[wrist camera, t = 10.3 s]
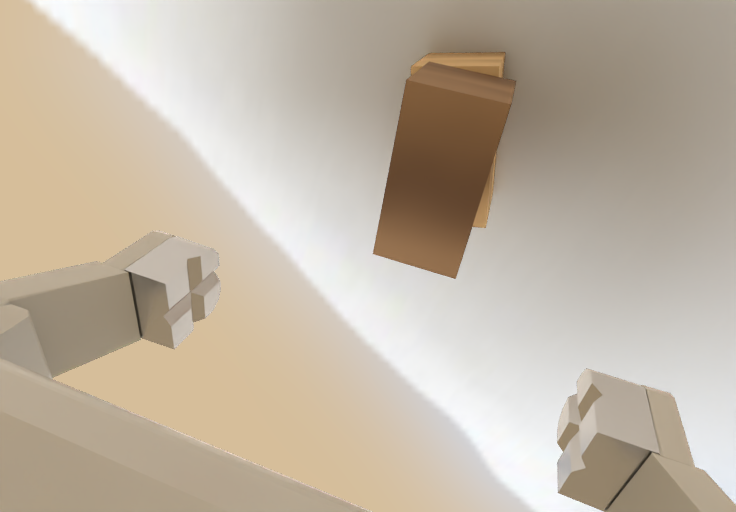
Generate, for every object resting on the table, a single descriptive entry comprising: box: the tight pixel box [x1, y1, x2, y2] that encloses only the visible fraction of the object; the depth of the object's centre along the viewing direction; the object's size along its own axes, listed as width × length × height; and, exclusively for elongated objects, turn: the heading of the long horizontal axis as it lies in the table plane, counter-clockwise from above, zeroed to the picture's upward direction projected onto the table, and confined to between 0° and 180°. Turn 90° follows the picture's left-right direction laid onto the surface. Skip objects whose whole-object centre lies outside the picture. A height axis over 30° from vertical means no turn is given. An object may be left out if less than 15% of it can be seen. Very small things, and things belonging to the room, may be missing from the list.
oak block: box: [411, 52, 505, 228], centre depth 22 cm, size 7×4×4 cm, turn 3°
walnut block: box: [373, 61, 516, 279], centre depth 19 cm, size 7×4×4 cm, turn 170°
